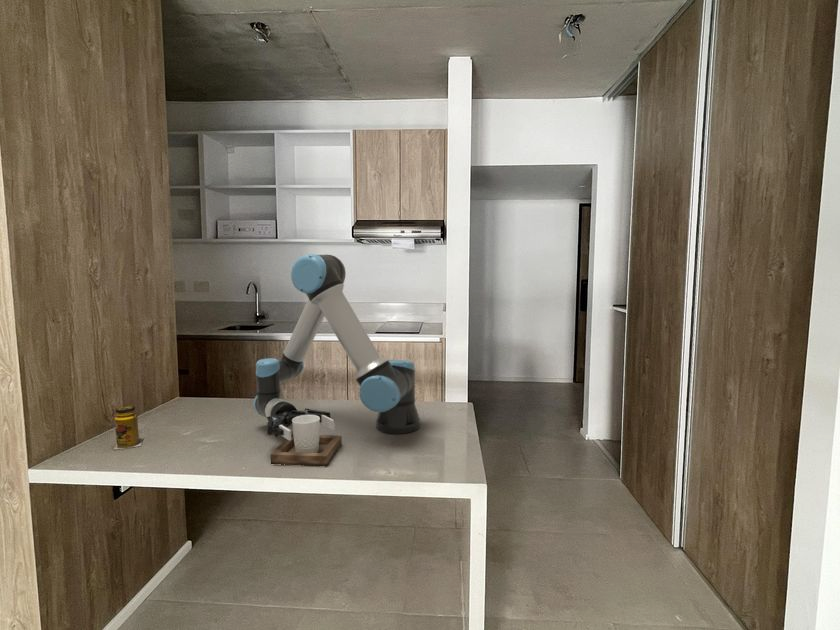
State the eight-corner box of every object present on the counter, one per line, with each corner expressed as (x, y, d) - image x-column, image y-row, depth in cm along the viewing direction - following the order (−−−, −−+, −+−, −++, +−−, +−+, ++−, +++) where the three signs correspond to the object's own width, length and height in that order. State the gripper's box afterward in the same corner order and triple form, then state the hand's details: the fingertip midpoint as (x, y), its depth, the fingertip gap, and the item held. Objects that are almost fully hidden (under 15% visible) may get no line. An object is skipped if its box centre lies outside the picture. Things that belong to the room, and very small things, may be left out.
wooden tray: (341, 445, 151) (341, 435, 150) (326, 466, 135) (326, 456, 135) (291, 443, 152) (290, 434, 152) (270, 464, 137) (270, 454, 136)
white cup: (325, 448, 146) (324, 416, 145) (311, 458, 139) (310, 424, 137) (302, 445, 148) (301, 413, 147) (287, 455, 141) (286, 421, 140)
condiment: (113, 450, 148) (110, 412, 147) (118, 441, 156) (115, 404, 155) (140, 446, 151) (137, 409, 150) (144, 437, 159) (141, 401, 157)
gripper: (317, 416, 165) (350, 432, 149) (242, 432, 149) (270, 453, 133) (316, 394, 164) (349, 408, 148) (241, 408, 148) (269, 426, 132)
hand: (312, 430), depth 140 cm, fingers open, 13 cm apart
